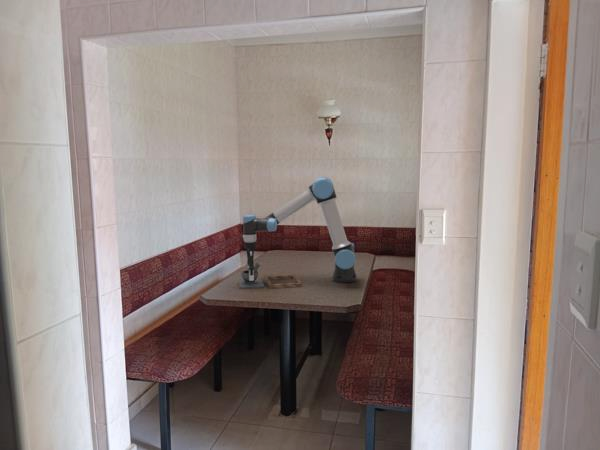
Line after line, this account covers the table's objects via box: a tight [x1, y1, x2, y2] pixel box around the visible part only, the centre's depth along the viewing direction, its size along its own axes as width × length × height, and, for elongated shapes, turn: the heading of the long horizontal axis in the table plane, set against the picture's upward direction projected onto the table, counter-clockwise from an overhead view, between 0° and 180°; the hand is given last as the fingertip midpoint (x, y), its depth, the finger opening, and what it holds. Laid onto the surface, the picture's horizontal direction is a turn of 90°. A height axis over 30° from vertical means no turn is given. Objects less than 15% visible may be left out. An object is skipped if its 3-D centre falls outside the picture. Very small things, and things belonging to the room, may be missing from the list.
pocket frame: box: [264, 274, 303, 290], centre depth 277 cm, size 19×22×2 cm
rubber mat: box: [238, 278, 265, 290], centre depth 273 cm, size 14×16×1 cm
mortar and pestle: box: [240, 262, 261, 284], centre depth 272 cm, size 11×9×12 cm
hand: (250, 278), depth 273 cm, fingers open, 10 cm apart
